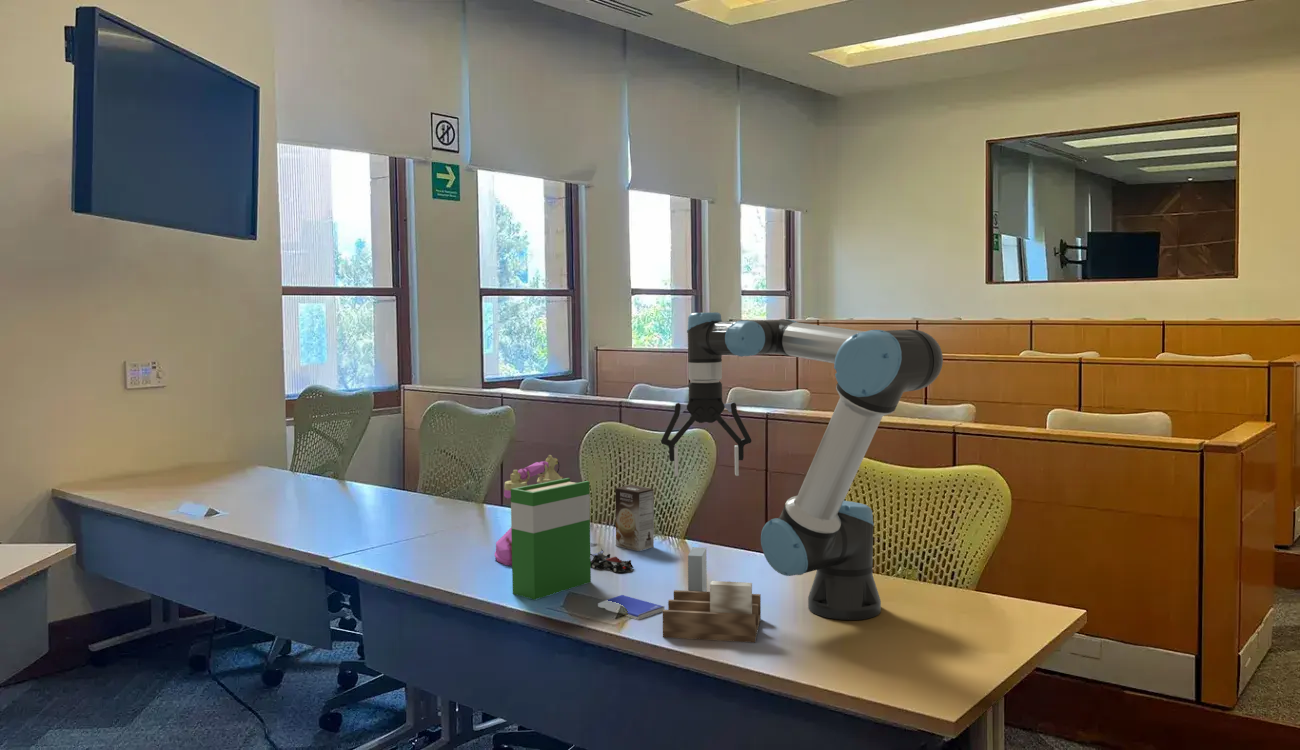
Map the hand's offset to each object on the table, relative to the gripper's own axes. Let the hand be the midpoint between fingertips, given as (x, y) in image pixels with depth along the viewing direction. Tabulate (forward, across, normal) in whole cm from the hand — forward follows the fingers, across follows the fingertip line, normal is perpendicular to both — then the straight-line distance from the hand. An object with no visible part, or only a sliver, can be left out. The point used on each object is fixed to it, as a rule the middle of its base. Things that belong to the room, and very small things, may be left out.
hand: (706, 475), depth 213 cm
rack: (+27, -1, +25) cm, 37 cm away
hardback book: (+26, +36, -2) cm, 45 cm away
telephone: (+26, +44, -34) cm, 62 cm away
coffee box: (+26, +19, -40) cm, 51 cm away
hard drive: (+27, +17, +13) cm, 35 cm away
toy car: (+27, +23, -18) cm, 40 cm away
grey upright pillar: (+27, +2, +11) cm, 29 cm away
